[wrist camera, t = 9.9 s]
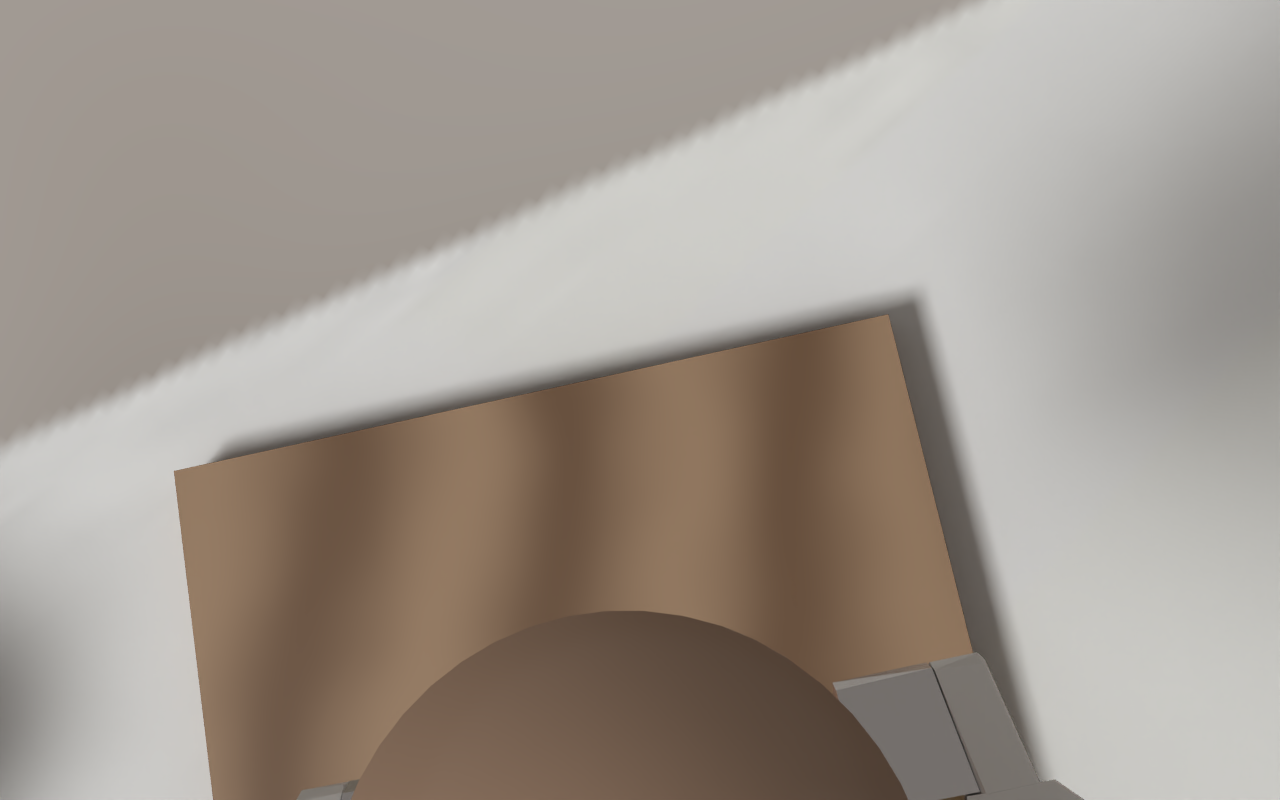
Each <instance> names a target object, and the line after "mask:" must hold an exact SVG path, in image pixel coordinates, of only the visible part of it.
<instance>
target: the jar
mask: <svg viewBox="0 0 1280 800" xmlns="http://www.w3.org/2000/svg"><path fill="white" fill-rule="evenodd" d="M351 800H908V798H907V796H906V794H905V792H904V789H903V787H902V785H901V783H900V781H899V780H898V778H897V776H896V775H895V773H894V771H893V770H892V768H891V766H890V765H889V763H888V762H887V760H886V758H885V757H884V755H883V753H882V752H881V750H880V748H879V747H878V746H877V744H876V743H875V742H874V741H873V739H872V738H871V737H870V735H869V734H868V733H867V732H866V730H865V729H864V728H863V727H862V725H861V724H860V723H859V722H858V720H857V719H856V718H855V716H854V715H853V714H852V713H851V712H850V711H849V710H848V709H847V708H846V707H845V706H844V705H843V704H842V703H841V702H840V701H839V700H838V699H837V698H836V697H835V696H834V695H833V694H832V693H831V692H830V691H829V690H828V689H826V688H825V687H824V686H823V685H822V684H821V683H820V682H818V681H817V680H816V679H814V678H813V677H812V676H810V675H809V674H808V673H806V672H805V671H804V670H802V669H801V668H800V667H798V666H797V665H796V664H794V663H793V662H792V661H791V660H789V659H788V658H786V657H785V656H783V655H781V654H780V653H778V652H776V651H774V650H773V649H771V648H769V647H767V646H766V645H764V644H762V643H760V642H759V641H757V640H755V639H753V638H751V637H748V636H746V635H743V634H741V633H738V632H736V631H734V630H731V629H729V628H726V627H724V626H721V625H717V624H713V623H709V622H705V621H702V620H698V619H694V618H690V617H686V616H680V615H672V614H665V613H657V612H649V611H602V612H595V613H588V614H580V615H573V616H567V617H563V618H559V619H556V620H552V621H549V622H545V623H542V624H538V625H535V626H531V627H528V628H526V629H524V630H521V631H519V632H517V633H514V634H512V635H510V636H507V637H505V638H503V639H500V640H498V641H496V642H494V643H492V644H490V645H489V646H487V647H485V648H484V649H482V650H480V651H479V652H477V653H475V654H474V655H472V656H470V657H469V658H467V659H465V660H464V661H462V662H461V663H459V664H458V665H457V666H455V667H454V668H453V669H452V670H450V671H449V672H448V673H447V674H445V675H444V676H443V677H442V678H440V679H439V680H438V681H436V682H435V683H434V684H433V685H431V686H430V687H429V688H428V689H427V690H426V691H425V692H424V693H423V694H422V695H421V696H420V697H419V699H418V700H417V701H416V702H415V703H414V704H413V705H412V706H411V707H410V708H409V709H408V710H407V711H406V712H405V713H404V714H403V715H402V716H401V718H400V719H399V720H398V722H397V723H396V724H395V726H394V727H393V728H392V730H391V731H390V732H389V733H388V735H387V736H386V737H385V739H384V740H383V741H382V743H381V744H380V745H379V747H378V749H377V750H376V752H375V754H374V755H373V757H372V759H371V761H370V762H369V764H368V766H367V768H366V769H365V771H364V773H363V774H362V776H361V778H360V780H359V782H358V784H357V786H356V789H355V791H354V793H353V796H352V798H351Z"/></svg>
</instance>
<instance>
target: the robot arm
mask: <svg viewBox="0 0 1280 800" xmlns="http://www.w3.org/2000/svg"><path fill="white" fill-rule="evenodd" d="M832 686H833V695H834V696H835V697H836V698H837V699H838V700H839V701H840V702H841V703H842V704H843V705H844V706H845V707H846V708H847V709H848V710H849V711H850V712H851V713H852V714H853V715H854V716H855V718H856V719H857V720H858V722H859V723H860V724H861V725H862V727H863V728H864V729H865V730H866V732H867V733H868V734H869V735H870V737H871V738H872V739H873V741H874V742H875V743H876V744H877V746H878V747H879V748H880V750H881V752H882V753H883V755H884V757H885V758H886V760H887V762H888V763H889V765H890V766H891V768H892V770H893V771H894V773H895V775H896V776H897V778H898V780H899V781H900V783H901V785H902V787H903V789H904V792H905V794H906V796H907V798H908V800H1084V799H1083V798H1081V797H1080V796H1078V795H1077V794H1075V793H1074V792H1072V791H1071V790H1069V789H1068V788H1067V787H1065V786H1064V785H1062V784H1061V783H1059V782H1058V781H1056V780H1050V781H1044V782H1040V781H1039V779H1038V777H1037V774H1036V772H1035V770H1034V768H1033V765H1032V763H1031V761H1030V759H1029V757H1028V754H1027V752H1026V750H1025V748H1024V745H1023V743H1022V741H1021V739H1020V737H1019V734H1018V732H1017V730H1016V728H1015V725H1014V723H1013V721H1012V719H1011V717H1010V714H1009V712H1008V710H1007V708H1006V705H1005V703H1004V701H1003V699H1002V697H1001V694H1000V692H999V690H998V688H997V685H996V683H995V681H994V679H993V677H992V674H991V672H990V670H989V668H988V665H987V663H986V661H985V659H984V658H983V657H982V656H981V655H980V654H979V653H978V652H976V653H971V654H966V655H962V656H957V657H952V658H947V659H942V660H938V661H933V662H929V664H927V663H926V662H925V663H920V664H916V665H911V666H907V667H902V668H897V669H893V670H888V671H884V672H879V673H874V674H870V675H865V676H861V677H856V678H852V679H847V680H842V681H838V682H833V683H832ZM359 780H360V779H357V780H351V781H348V782H343V783H338V784H332V785H327V786H322V787H316V788H311V789H306V790H302V791H301V793H300V795H299V796H298V798H297V800H351V798H352V796H353V793H354V791H355V789H356V786H357V784H358V782H359Z"/></svg>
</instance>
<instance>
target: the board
mask: <svg viewBox="0 0 1280 800" xmlns="http://www.w3.org/2000/svg"><path fill="white" fill-rule="evenodd" d="M174 476H175V484H176V493H177V501H178V509H179V518H180V526H181V534H182V543H183V551H184V560H185V568H186V576H187V585H188V593H189V601H190V610H191V618H192V626H193V635H194V643H195V651H196V660H197V668H198V677H199V685H200V693H201V702H202V710H203V718H204V727H205V735H206V743H207V752H208V760H209V769H210V777H211V785H212V794H213V800H297V798H298V796H299V795H300V793H301V791H302V790H306V789H311V788H316V787H322V786H327V785H332V784H338V783H343V782H348V781H351V780H357V779H360V778H361V776H362V774H363V773H364V771H365V769H366V768H367V766H368V764H369V762H370V761H371V759H372V757H373V755H374V754H375V752H376V750H377V749H378V747H379V745H380V744H381V743H382V741H383V740H384V739H385V737H386V736H387V735H388V733H389V732H390V731H391V730H392V728H393V727H394V726H395V724H396V723H397V722H398V720H399V719H400V718H401V716H402V715H403V714H404V713H405V712H406V711H407V710H408V709H409V708H410V707H411V706H412V705H413V704H414V703H415V702H416V701H417V700H418V699H419V697H420V696H421V695H422V694H423V693H424V692H425V691H426V690H427V689H428V688H429V687H430V686H431V685H433V684H434V683H435V682H436V681H438V680H439V679H440V678H442V677H443V676H444V675H445V674H447V673H448V672H449V671H450V670H452V669H453V668H454V667H455V666H457V665H458V664H459V663H461V662H462V661H464V660H465V659H467V658H469V657H470V656H472V655H474V654H475V653H477V652H479V651H480V650H482V649H484V648H485V647H487V646H489V645H490V644H492V643H494V642H496V641H498V640H500V639H503V638H505V637H507V636H510V635H512V634H514V633H517V632H519V631H521V630H524V629H526V628H528V627H531V626H535V625H538V624H542V623H545V622H549V621H552V620H556V619H559V618H563V617H567V616H573V615H580V614H588V613H595V612H602V611H649V612H657V613H665V614H672V615H680V616H686V617H690V618H694V619H698V620H702V621H705V622H709V623H713V624H717V625H721V626H724V627H726V628H729V629H731V630H734V631H736V632H738V633H741V634H743V635H746V636H748V637H751V638H753V639H755V640H757V641H759V642H760V643H762V644H764V645H766V646H767V647H769V648H771V649H773V650H774V651H776V652H778V653H780V654H781V655H783V656H785V657H786V658H788V659H789V660H791V661H792V662H793V663H794V664H796V665H797V666H798V667H800V668H801V669H802V670H804V671H805V672H806V673H808V674H809V675H810V676H812V677H813V678H814V679H816V680H817V681H818V682H820V683H821V684H822V685H823V686H824V687H825V688H826V689H828V690H829V691H830V692H831V693H832V694H833V686H832V683H833V682H838V681H842V680H847V679H852V678H856V677H861V676H865V675H870V674H874V673H879V672H884V671H888V670H893V669H897V668H902V667H907V666H911V665H916V664H920V663H925V662H926V663H927V664H929V662H933V661H938V660H942V659H947V658H952V657H957V656H962V655H966V654H971V653H973V651H972V647H971V643H970V639H969V635H968V631H967V627H966V623H965V619H964V615H963V611H962V607H961V603H960V599H959V595H958V591H957V587H956V583H955V579H954V575H953V571H952V567H951V563H950V559H949V555H948V551H947V547H946V543H945V539H944V535H943V531H942V527H941V523H940V519H939V515H938V511H937V507H936V503H935V499H934V495H933V491H932V487H931V483H930V479H929V475H928V471H927V467H926V463H925V459H924V455H923V451H922V447H921V443H920V439H919V435H918V431H917V427H916V423H915V419H914V415H913V411H912V407H911V403H910V399H909V395H908V391H907V387H906V383H905V379H904V375H903V371H902V367H901V363H900V359H899V355H898V351H897V347H896V343H895V339H894V335H893V331H892V327H891V323H890V319H889V315H888V314H887V315H883V316H878V317H874V318H869V319H865V320H860V321H855V322H851V323H846V324H842V325H837V326H833V327H828V328H824V329H819V330H814V331H810V332H805V333H801V334H796V335H792V336H787V337H783V338H778V339H773V340H769V341H764V342H760V343H755V344H751V345H746V346H742V347H737V348H732V349H728V350H723V351H719V352H714V353H710V354H705V355H701V356H696V357H691V358H687V359H682V360H678V361H673V362H669V363H664V364H660V365H655V366H650V367H646V368H641V369H637V370H632V371H628V372H623V373H619V374H614V375H609V376H605V377H600V378H596V379H591V380H587V381H582V382H578V383H573V384H568V385H564V386H559V387H555V388H550V389H546V390H541V391H537V392H532V393H527V394H523V395H518V396H514V397H509V398H505V399H500V400H496V401H491V402H486V403H482V404H477V405H473V406H468V407H464V408H459V409H455V410H450V411H445V412H441V413H436V414H432V415H427V416H423V417H418V418H414V419H409V420H404V421H400V422H395V423H391V424H386V425H382V426H377V427H373V428H368V429H363V430H359V431H354V432H350V433H345V434H341V435H336V436H332V437H327V438H322V439H318V440H313V441H309V442H304V443H300V444H295V445H291V446H286V447H281V448H277V449H272V450H268V451H263V452H259V453H254V454H250V455H245V456H240V457H236V458H231V459H227V460H222V461H218V462H213V463H209V464H204V465H199V466H195V467H190V468H186V469H181V470H177V471H174Z"/></svg>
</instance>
